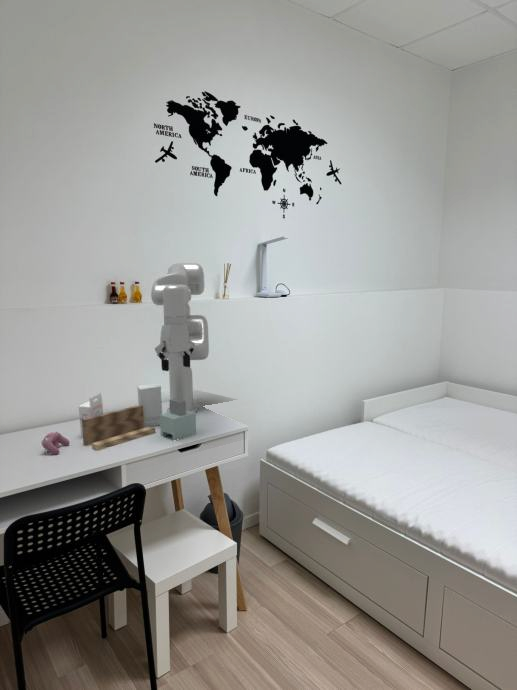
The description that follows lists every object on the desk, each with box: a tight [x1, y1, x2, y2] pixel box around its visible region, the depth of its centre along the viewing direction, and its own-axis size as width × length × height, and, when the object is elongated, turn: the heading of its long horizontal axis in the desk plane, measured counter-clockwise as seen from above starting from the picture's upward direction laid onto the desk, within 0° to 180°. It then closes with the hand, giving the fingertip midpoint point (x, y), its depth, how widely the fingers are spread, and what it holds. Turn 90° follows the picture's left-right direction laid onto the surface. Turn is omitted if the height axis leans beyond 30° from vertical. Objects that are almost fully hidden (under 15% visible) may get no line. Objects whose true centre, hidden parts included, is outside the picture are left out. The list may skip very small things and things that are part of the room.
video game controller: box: [41, 431, 70, 456], centre depth 168 cm, size 10×5×7 cm, turn 178°
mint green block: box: [159, 398, 197, 441], centre depth 181 cm, size 10×8×13 cm
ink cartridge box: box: [78, 392, 104, 438], centre depth 183 cm, size 9×5×15 cm, turn 168°
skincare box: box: [136, 382, 163, 428], centre depth 194 cm, size 8×7×16 cm
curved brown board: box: [82, 404, 156, 451], centre depth 178 cm, size 24×9×9 cm, turn 138°
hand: (176, 368), depth 178 cm, fingers open, 9 cm apart
